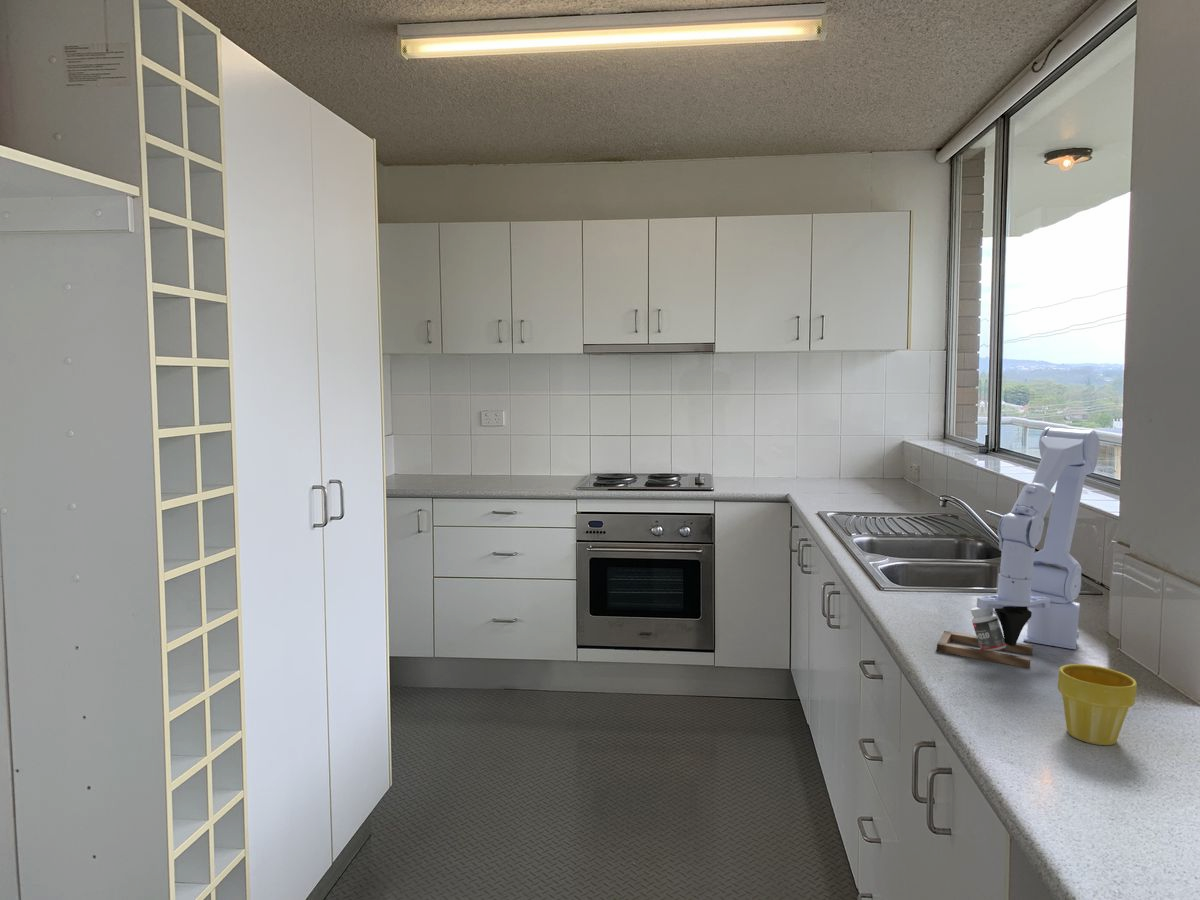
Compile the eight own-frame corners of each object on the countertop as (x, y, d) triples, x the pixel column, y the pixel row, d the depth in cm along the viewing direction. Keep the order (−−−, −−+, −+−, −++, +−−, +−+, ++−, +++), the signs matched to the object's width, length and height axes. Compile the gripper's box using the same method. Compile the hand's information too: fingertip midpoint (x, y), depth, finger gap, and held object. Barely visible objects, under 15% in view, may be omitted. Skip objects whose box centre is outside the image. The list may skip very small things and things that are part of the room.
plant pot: (1086, 719, 142) (1092, 660, 141) (1146, 746, 133) (1153, 683, 132) (1038, 726, 138) (1044, 666, 137) (1096, 755, 129) (1102, 690, 128)
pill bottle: (976, 652, 174) (963, 610, 176) (994, 646, 176) (981, 605, 177) (993, 652, 170) (980, 609, 171) (1011, 645, 172) (998, 603, 173)
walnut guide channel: (1032, 653, 174) (1033, 645, 174) (1029, 668, 165) (1030, 660, 165) (943, 637, 182) (944, 630, 182) (936, 651, 173) (937, 643, 173)
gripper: (1035, 570, 175) (1029, 636, 177) (969, 571, 173) (964, 638, 174) (1060, 579, 168) (1053, 648, 170) (992, 580, 166) (986, 650, 167)
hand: (1009, 644), depth 171 cm, fingers closed
